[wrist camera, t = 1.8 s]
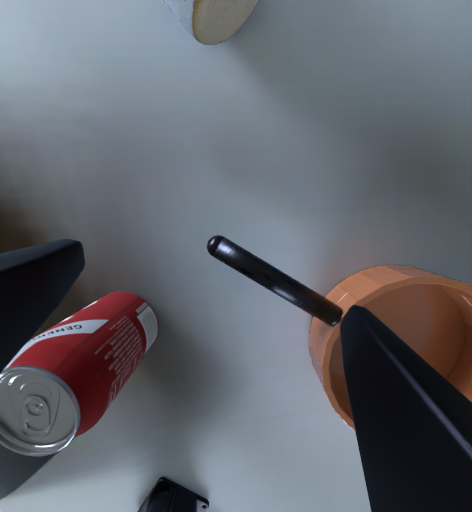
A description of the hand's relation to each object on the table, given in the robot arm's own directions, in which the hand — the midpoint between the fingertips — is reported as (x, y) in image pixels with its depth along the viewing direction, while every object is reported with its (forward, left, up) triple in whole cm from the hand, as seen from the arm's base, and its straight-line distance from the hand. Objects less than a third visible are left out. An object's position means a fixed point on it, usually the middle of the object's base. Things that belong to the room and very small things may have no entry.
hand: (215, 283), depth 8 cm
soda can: (-13, +5, -16) cm, 21 cm away
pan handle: (-1, -5, -13) cm, 14 cm away
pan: (-1, -18, -16) cm, 24 cm away
